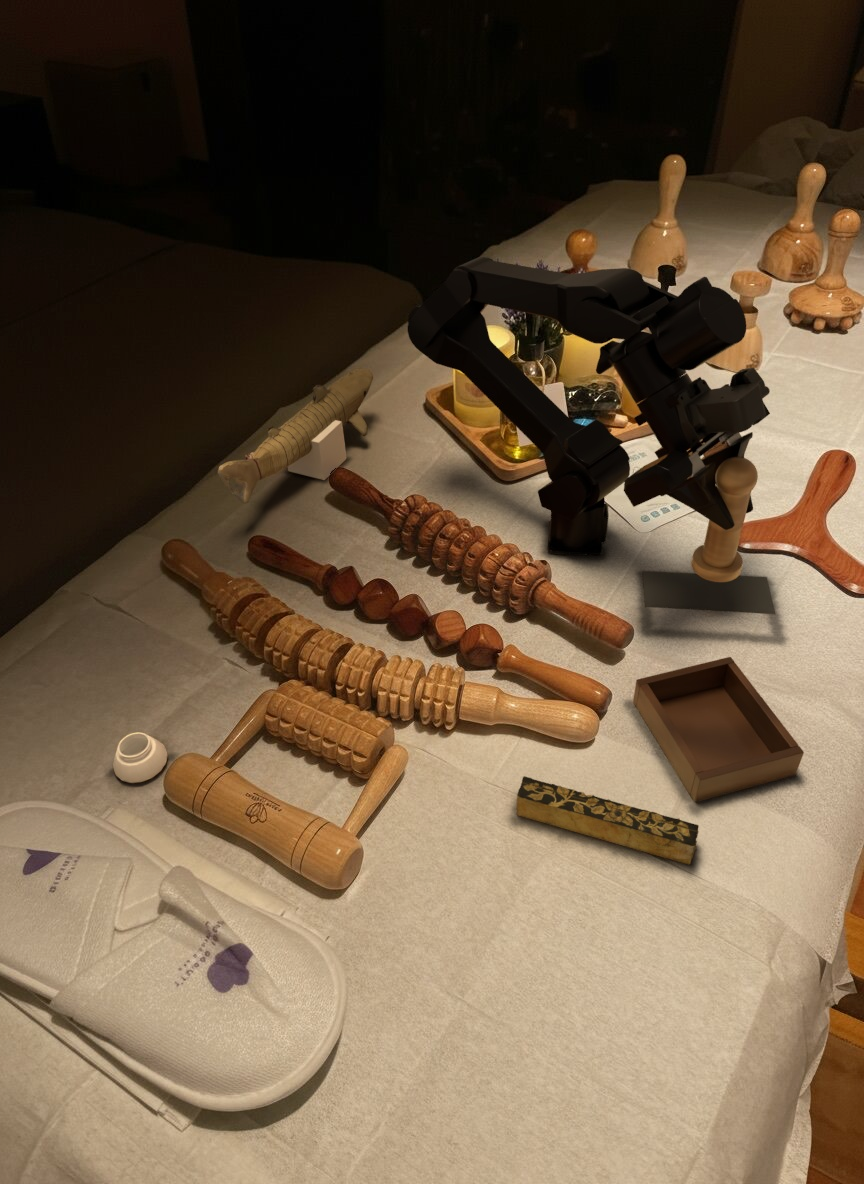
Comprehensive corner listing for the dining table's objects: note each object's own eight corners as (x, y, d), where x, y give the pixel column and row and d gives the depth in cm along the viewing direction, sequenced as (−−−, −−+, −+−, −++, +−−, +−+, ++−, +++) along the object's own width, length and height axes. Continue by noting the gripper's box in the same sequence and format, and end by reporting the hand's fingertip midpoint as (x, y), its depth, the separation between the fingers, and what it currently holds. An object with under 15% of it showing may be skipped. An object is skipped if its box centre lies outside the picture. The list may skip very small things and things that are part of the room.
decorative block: (694, 846, 75) (700, 822, 73) (690, 870, 73) (696, 846, 71) (522, 797, 80) (523, 773, 77) (514, 818, 78) (515, 794, 76)
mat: (646, 632, 95) (647, 628, 95) (642, 573, 103) (643, 570, 102) (780, 640, 93) (781, 636, 93) (766, 580, 101) (766, 576, 100)
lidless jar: (147, 735, 87) (105, 767, 84) (140, 716, 85) (96, 748, 82) (178, 760, 84) (135, 794, 82) (171, 741, 83) (127, 774, 80)
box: (632, 705, 87) (636, 679, 85) (723, 682, 89) (730, 656, 87) (693, 806, 78) (700, 780, 76) (794, 778, 80) (804, 752, 77)
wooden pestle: (710, 587, 92) (734, 479, 83) (681, 559, 95) (702, 453, 87) (751, 574, 93) (779, 466, 84) (721, 547, 97) (745, 441, 88)
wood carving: (207, 534, 112) (187, 460, 105) (346, 409, 136) (337, 341, 128) (264, 551, 109) (247, 475, 102) (396, 420, 132) (391, 351, 125)
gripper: (666, 389, 76) (757, 540, 77) (771, 319, 86) (850, 454, 87) (586, 437, 85) (667, 571, 87) (689, 369, 95) (761, 490, 97)
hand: (739, 520), depth 89 cm, fingers closed on wooden pestle, 3 cm apart
